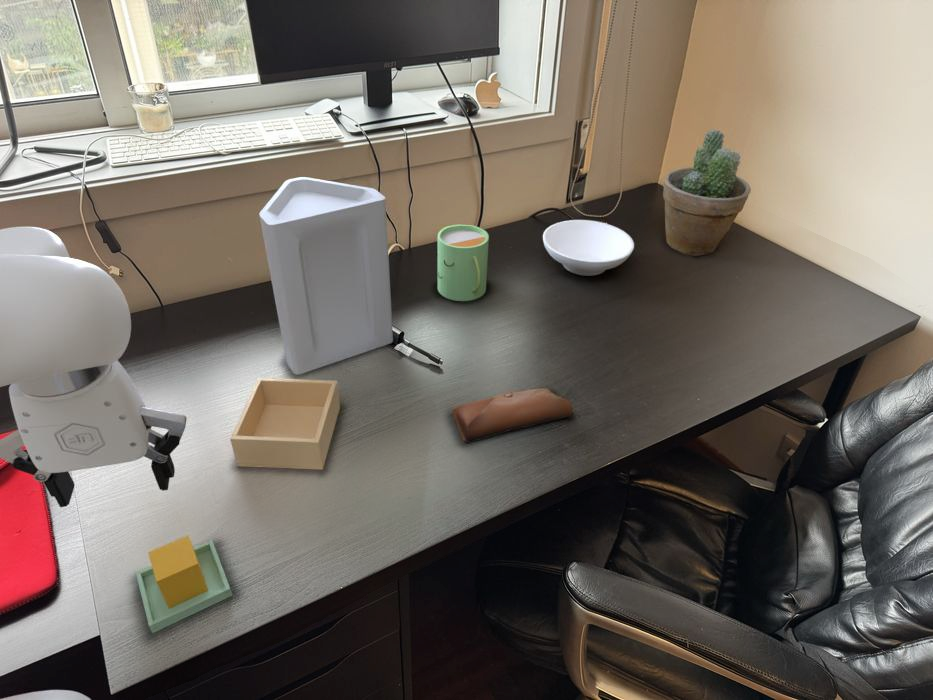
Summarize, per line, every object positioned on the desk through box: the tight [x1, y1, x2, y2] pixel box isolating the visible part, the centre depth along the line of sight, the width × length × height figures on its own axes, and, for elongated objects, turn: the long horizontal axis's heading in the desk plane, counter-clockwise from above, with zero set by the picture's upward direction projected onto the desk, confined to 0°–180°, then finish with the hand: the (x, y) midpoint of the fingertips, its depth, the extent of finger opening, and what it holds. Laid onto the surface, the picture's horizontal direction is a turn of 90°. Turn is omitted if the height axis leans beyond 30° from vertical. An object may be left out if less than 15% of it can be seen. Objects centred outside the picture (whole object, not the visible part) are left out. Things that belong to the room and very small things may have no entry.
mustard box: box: [147, 535, 208, 609], centre depth 74 cm, size 4×4×6 cm
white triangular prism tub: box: [258, 176, 394, 376], centre depth 109 cm, size 19×15×28 cm
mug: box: [435, 224, 490, 302], centre depth 128 cm, size 13×10×12 cm
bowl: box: [542, 219, 635, 277], centre depth 139 cm, size 20×20×7 cm
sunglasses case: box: [451, 388, 573, 443], centre depth 101 cm, size 18×7×7 cm
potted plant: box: [662, 129, 752, 257], centre depth 143 cm, size 18×19×25 cm
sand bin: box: [229, 377, 341, 471], centre depth 96 cm, size 13×12×6 cm
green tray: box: [135, 539, 233, 634], centre depth 76 cm, size 9×8×2 cm
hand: (117, 488), depth 68 cm, fingers open, 9 cm apart
